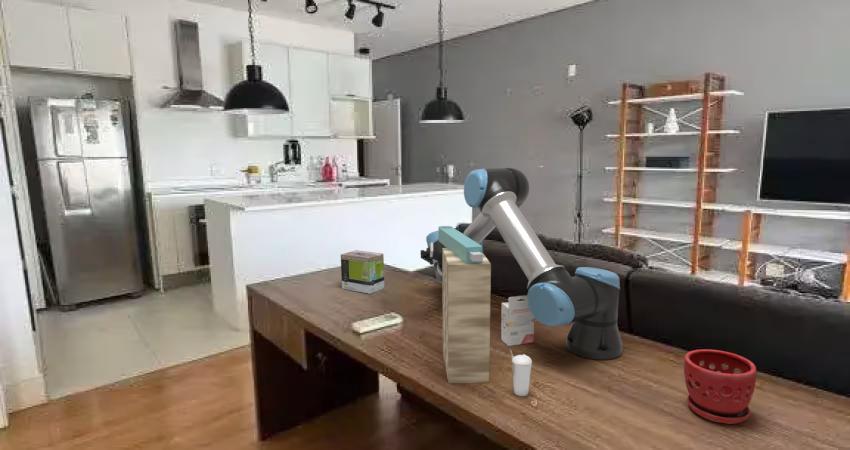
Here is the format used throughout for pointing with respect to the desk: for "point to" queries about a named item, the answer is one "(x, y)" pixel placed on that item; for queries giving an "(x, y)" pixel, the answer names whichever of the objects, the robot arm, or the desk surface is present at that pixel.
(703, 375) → the plant pot
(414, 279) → the desk surface
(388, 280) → the desk surface
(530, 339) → the ink cartridge box
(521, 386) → the milkshake
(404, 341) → the desk surface
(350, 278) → the tea box
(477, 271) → the stand
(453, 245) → the teal rounded-top bar
